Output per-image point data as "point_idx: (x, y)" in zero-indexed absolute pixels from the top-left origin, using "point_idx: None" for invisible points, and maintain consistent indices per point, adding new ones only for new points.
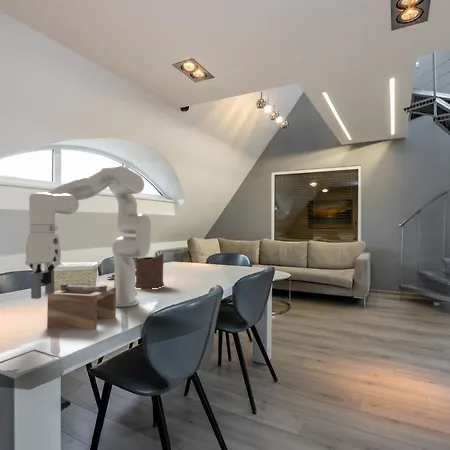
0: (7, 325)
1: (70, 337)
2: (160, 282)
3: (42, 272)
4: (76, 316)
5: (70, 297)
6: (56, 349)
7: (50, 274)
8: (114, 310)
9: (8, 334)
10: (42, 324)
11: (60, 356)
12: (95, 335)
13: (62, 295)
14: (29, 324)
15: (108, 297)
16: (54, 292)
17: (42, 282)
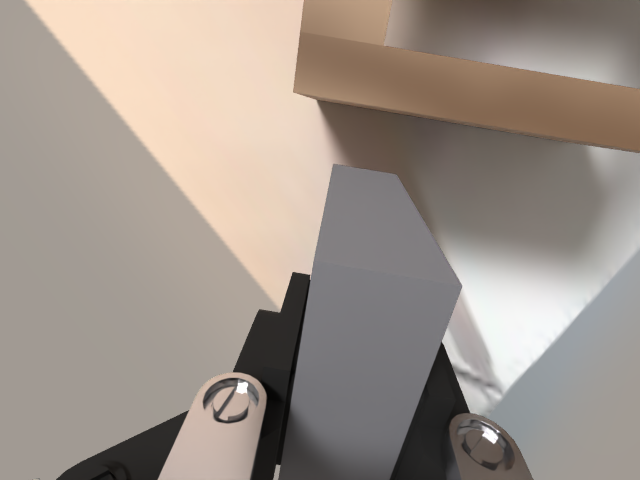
0: (108, 83)
1: (484, 239)
2: None
3: (350, 455)
4: (503, 130)
5: (515, 130)
6: (472, 343)
7: (458, 412)
8: None
9: (212, 208)
10: (269, 57)
11: (503, 387)
12: (588, 216)
13: (442, 116)
14: (202, 60)
15: None
16: (396, 174)
17: (309, 277)
